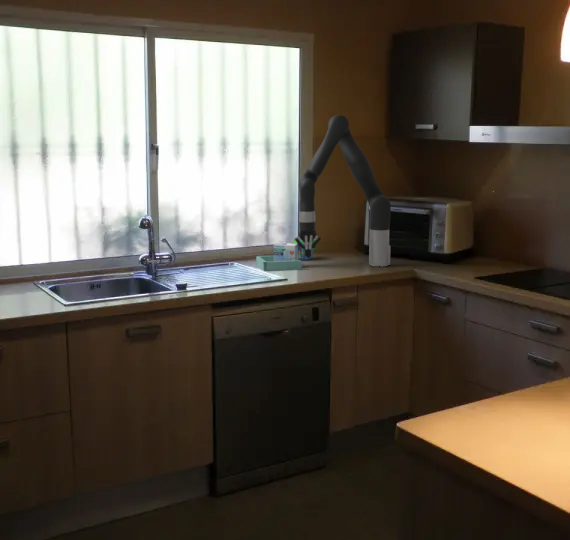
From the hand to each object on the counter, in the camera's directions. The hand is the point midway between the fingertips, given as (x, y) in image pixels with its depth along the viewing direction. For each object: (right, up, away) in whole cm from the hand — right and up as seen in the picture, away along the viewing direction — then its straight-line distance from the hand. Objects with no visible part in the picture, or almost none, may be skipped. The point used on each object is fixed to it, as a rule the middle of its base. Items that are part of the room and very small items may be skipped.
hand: (307, 257), depth 359 cm
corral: (-14, -5, -3) cm, 15 cm away
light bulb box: (-11, -5, -2) cm, 12 cm away
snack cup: (-1, -1, +19) cm, 19 cm away
